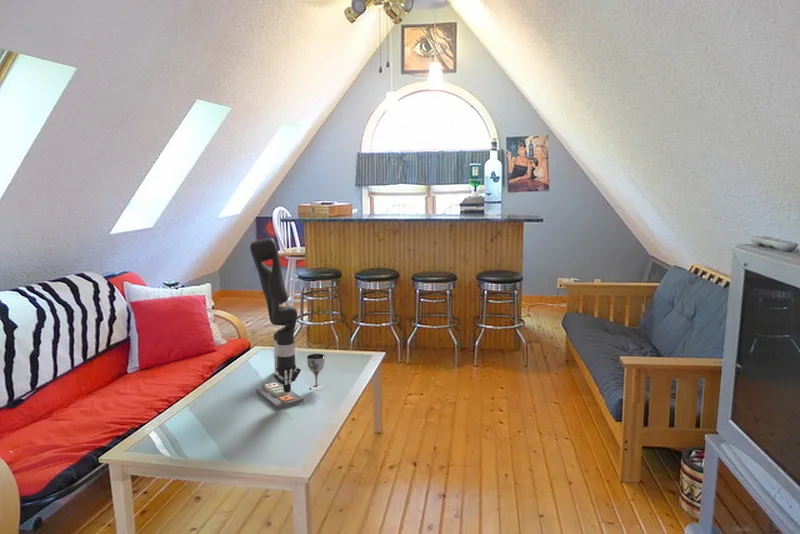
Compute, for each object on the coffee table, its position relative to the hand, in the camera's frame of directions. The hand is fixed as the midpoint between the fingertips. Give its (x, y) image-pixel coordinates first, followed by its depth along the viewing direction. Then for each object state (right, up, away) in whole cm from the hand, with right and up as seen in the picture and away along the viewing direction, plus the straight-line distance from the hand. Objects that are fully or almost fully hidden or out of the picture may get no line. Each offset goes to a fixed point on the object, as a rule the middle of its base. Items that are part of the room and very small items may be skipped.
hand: (287, 391), depth 236 cm
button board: (-5, -4, +6) cm, 9 cm away
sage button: (-5, -3, +6) cm, 8 cm away
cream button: (-9, -2, +11) cm, 14 cm away
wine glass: (+10, -2, +18) cm, 21 cm away
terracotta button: (0, -5, +1) cm, 5 cm away
